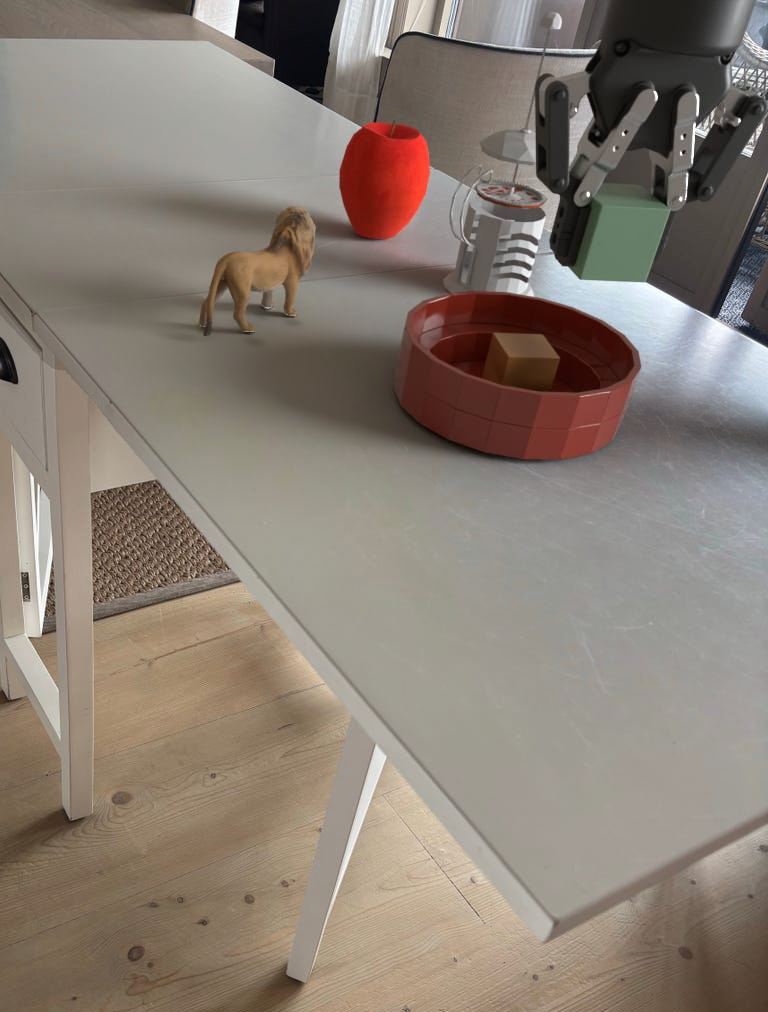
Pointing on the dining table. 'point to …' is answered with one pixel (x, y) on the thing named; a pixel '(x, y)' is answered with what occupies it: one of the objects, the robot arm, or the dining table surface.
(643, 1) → the robot arm
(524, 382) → the block
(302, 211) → the lion figurine
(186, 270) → the dining table surface
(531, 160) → the french press
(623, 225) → the block
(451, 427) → the red shallow bowl
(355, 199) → the apple
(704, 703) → the dining table surface
